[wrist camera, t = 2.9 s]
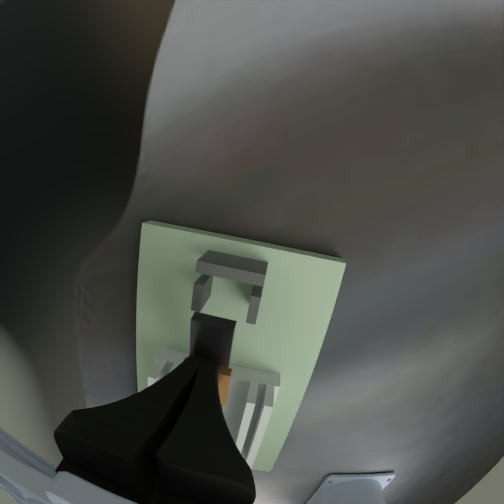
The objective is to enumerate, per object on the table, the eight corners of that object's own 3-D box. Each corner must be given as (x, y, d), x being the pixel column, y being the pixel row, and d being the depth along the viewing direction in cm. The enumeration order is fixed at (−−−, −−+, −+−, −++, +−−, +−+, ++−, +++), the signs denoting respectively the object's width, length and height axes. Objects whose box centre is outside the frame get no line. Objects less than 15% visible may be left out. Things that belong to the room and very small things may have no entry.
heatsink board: (271, 462, 22) (268, 500, 17) (146, 432, 22) (129, 465, 18) (341, 258, 17) (361, 282, 12) (150, 220, 18) (112, 231, 13)
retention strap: (215, 465, 19) (212, 477, 18) (189, 459, 19) (185, 471, 18) (242, 319, 12) (236, 339, 11) (191, 308, 12) (182, 325, 11)
